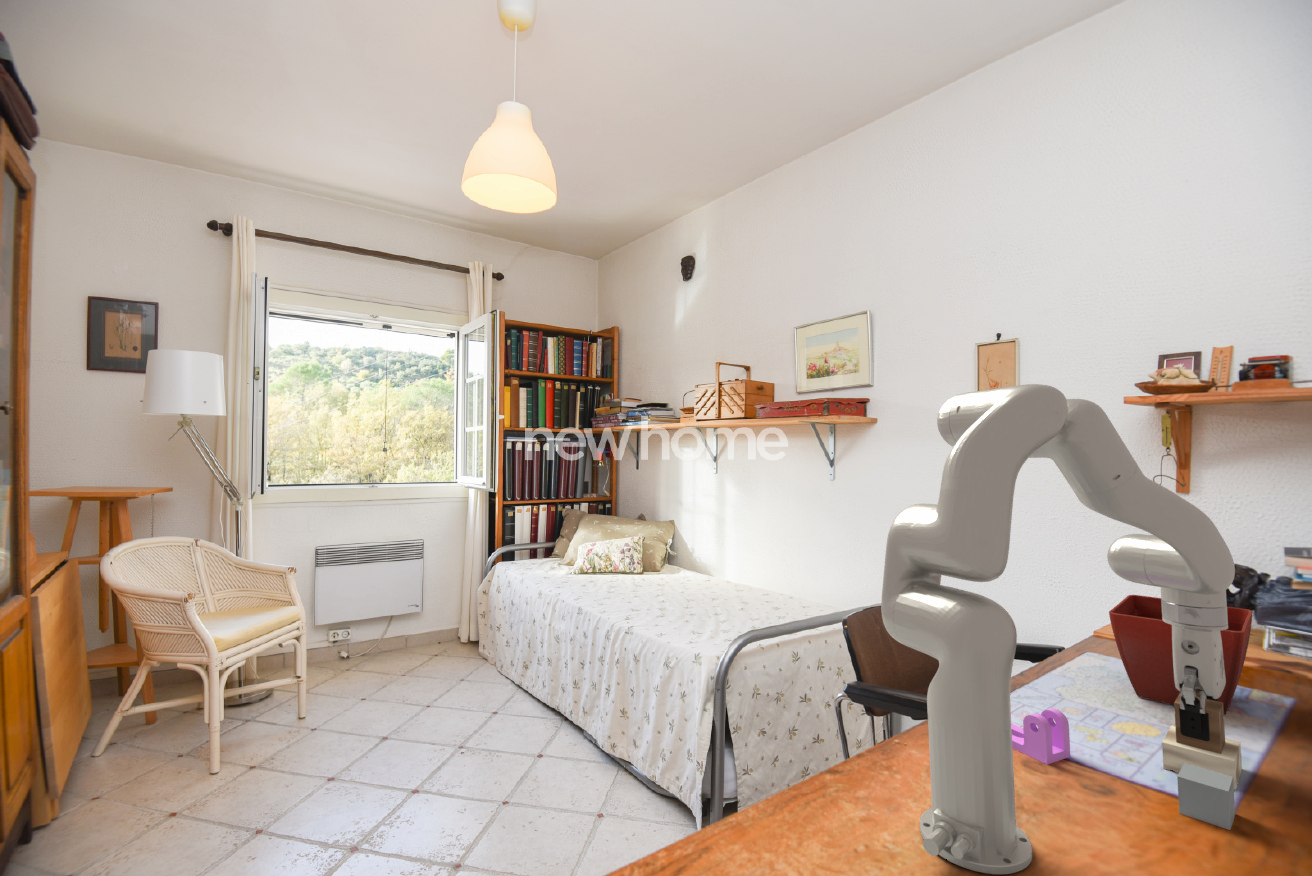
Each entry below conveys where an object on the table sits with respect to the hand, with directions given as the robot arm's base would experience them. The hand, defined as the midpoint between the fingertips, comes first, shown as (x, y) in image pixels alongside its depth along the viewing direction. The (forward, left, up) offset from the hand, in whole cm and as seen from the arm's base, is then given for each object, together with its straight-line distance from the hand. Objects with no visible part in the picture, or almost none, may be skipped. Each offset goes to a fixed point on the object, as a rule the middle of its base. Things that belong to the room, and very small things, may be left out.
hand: (1200, 726), depth 91 cm
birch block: (0, 0, -6) cm, 6 cm away
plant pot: (+31, +6, -7) cm, 32 cm away
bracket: (-10, +22, -7) cm, 25 cm away
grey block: (-14, -2, -6) cm, 16 cm away
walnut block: (0, 0, -2) cm, 2 cm away
